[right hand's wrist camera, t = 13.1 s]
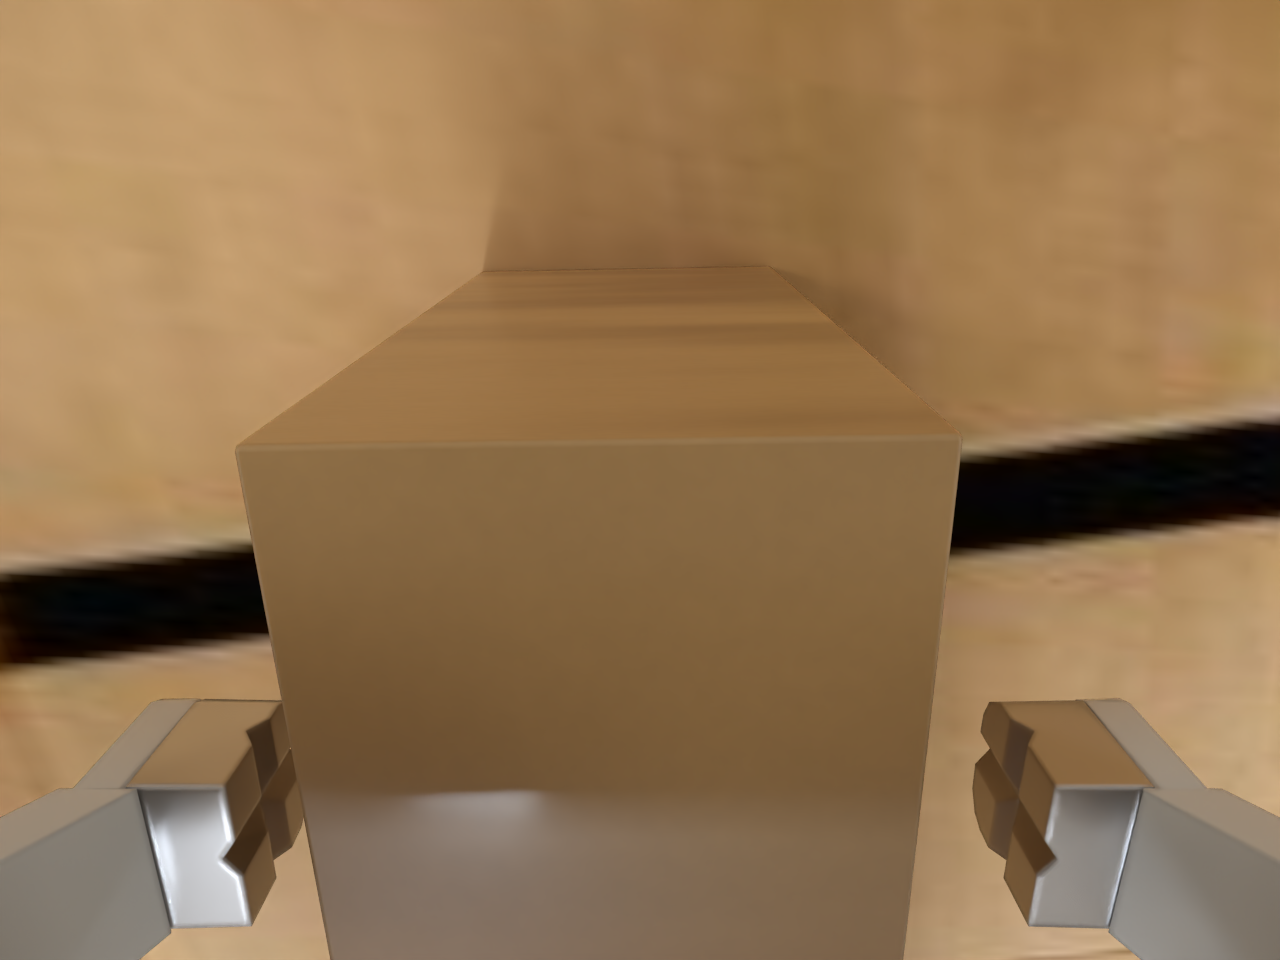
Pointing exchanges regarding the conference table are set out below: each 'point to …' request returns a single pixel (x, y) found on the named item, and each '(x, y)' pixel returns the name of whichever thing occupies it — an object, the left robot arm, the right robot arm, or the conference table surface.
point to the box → (608, 623)
